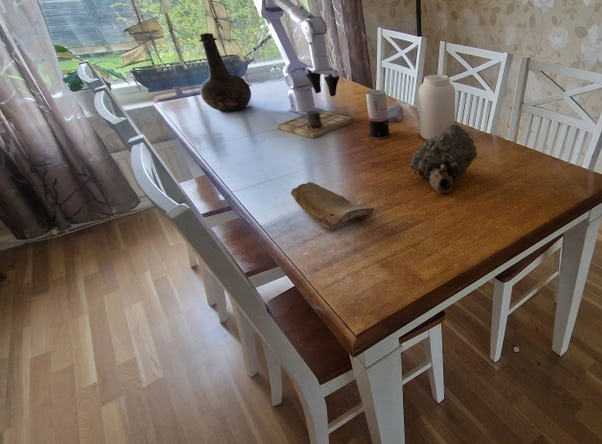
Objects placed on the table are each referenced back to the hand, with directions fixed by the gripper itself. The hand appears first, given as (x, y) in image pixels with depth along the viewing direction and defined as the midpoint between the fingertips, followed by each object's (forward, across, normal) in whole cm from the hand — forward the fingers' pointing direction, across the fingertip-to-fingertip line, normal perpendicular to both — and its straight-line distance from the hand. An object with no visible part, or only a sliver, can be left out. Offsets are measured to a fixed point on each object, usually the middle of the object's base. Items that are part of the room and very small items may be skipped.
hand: (325, 94), depth 141 cm
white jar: (+10, +45, +7) cm, 47 cm away
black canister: (+8, +5, -12) cm, 15 cm away
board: (+9, +1, -8) cm, 12 cm away
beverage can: (+10, +28, -4) cm, 30 cm away
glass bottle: (+10, -44, -12) cm, 47 cm away
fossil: (+10, +50, -50) cm, 71 cm away
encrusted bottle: (+10, +65, -23) cm, 70 cm away
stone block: (+10, +19, +12) cm, 24 cm away
